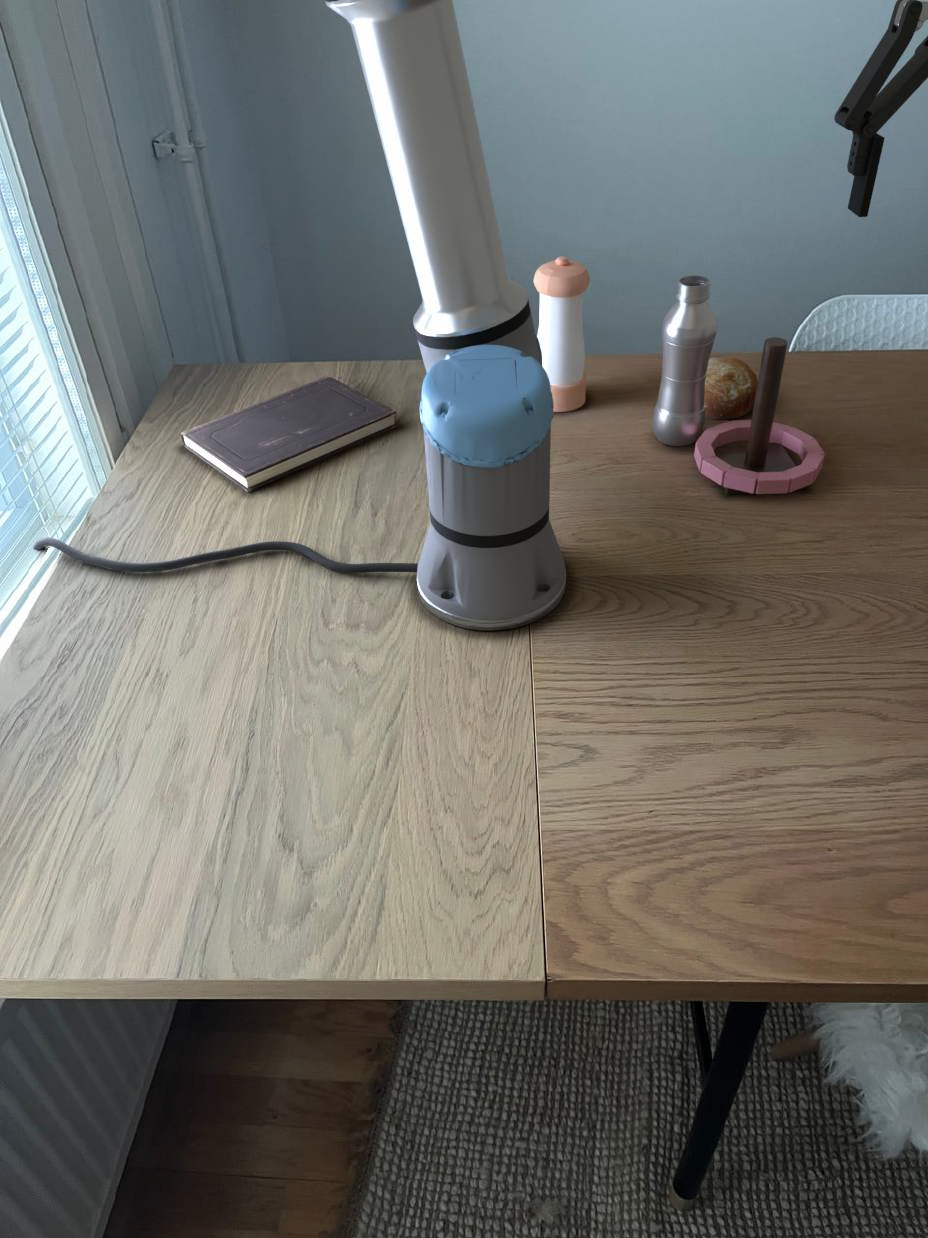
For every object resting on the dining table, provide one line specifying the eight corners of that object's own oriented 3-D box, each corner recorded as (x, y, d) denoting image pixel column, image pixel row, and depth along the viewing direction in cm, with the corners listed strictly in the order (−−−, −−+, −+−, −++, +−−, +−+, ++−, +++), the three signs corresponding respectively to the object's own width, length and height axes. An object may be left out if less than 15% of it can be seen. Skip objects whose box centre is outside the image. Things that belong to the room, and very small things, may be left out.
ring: (708, 495, 107) (710, 482, 106) (685, 434, 118) (687, 421, 117) (835, 491, 106) (838, 477, 105) (800, 430, 117) (803, 417, 116)
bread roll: (674, 416, 131) (658, 373, 126) (733, 372, 131) (720, 327, 126) (718, 447, 124) (702, 403, 119) (780, 401, 124) (768, 354, 119)
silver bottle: (642, 446, 118) (657, 287, 106) (660, 422, 123) (676, 267, 110) (693, 456, 116) (714, 295, 103) (709, 432, 120) (731, 274, 108)
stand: (726, 494, 109) (747, 362, 99) (705, 455, 116) (723, 327, 106) (803, 489, 109) (832, 356, 99) (778, 450, 116) (802, 322, 106)
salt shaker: (526, 409, 127) (526, 265, 115) (538, 385, 133) (540, 245, 120) (579, 414, 125) (585, 269, 113) (590, 390, 131) (596, 249, 119)
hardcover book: (397, 426, 125) (396, 410, 124) (247, 492, 114) (244, 476, 112) (328, 388, 135) (326, 373, 133) (183, 446, 123) (179, 430, 122)
